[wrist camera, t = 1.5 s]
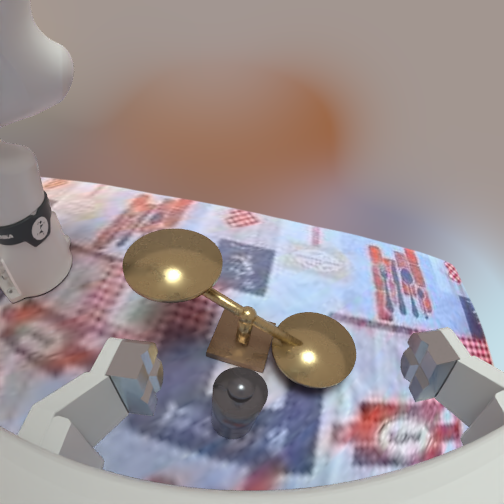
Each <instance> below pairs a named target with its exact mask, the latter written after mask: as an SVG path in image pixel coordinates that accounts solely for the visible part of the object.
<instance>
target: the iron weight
mask: <svg viewBox="0 0 504 504" xmlns="http://www.w3.org/2000/svg"><path fill="white" fill-rule="evenodd" d="M267 396H268V389H267V385H266V383H265V381H264V380H263V378H262V377H261V376H260V375H259V374H258V373H256V372H255V371H253V370H251V369H248V368H242V367H236V368H230V369H228V370H226V371H224V372H222V373H221V374H220V375H219V376H218V377H217V378H216V380H215V382H214V385H213V397H212V426H213V428H214V430H215V431H216V432H217V433H218V434H219V435H221V436H222V437H225V438H228V439H237V438H240V437H243V436H244V435H246V434H247V433H248V432H249V430H250V428H251V427H252V425H253V423H254V422H255V420H256V418H257V416H258V415H259V413H260V411H261V409H262V408H263V406H264V404H265V402H266V400H267Z"/></svg>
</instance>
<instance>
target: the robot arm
mask: <svg viewBox="0 0 504 504" xmlns="http://www.w3.org/2000/svg"><path fill="white" fill-rule="evenodd" d="M73 75H74V65H73V61H72V57H71V55H70V54H69V52H68V51H67V49H66V48H65V47H64V46H62V45H61V44H58V43H56V42H54V41H52V40H51V39H49V38H48V37H46V36H45V35H44V34H43V33H42V32H41V31H40V30H39V28H38V27H37V25H36V24H35V22H34V20H33V16H32V12H31V5H30V0H0V128H1V127H3V126H6V125H8V124H11V123H13V122H16V121H19V120H22V119H24V118H27V117H30V116H33V115H36V114H38V113H40V112H42V111H44V110H46V109H48V108H50V107H52V106H53V105H55V104H57V103H60V102H61V101H62V100H63V99H64V97H65V96H66V94H67V93H68V91H69V89H70V86H71V84H72V80H73ZM69 247H70V238H69V236H67V235H64V233H63V231H62V228H61V226H60V223H59V221H58V218H57V216H56V213H55V212H53V211H51V207H50V202H49V199H48V197H47V194H46V192H45V191H44V190H43V186H42V182H41V178H40V173H39V168H38V164H37V159H36V156H35V154H34V153H33V152H32V150H30V149H29V148H27V147H26V146H23V145H20V144H13V143H7V142H4V141H3V140H1V139H0V288H1V290H2V291H3V292H4V294H5V295H6V296H7V298H8V299H9V300H10V301H11V302H12V303H14V302H17V301H19V300H21V299H23V298H26V297H31V296H37V295H41V294H44V293H46V292H48V291H50V290H51V289H53V288H54V287H56V286H57V285H58V284H59V283H60V282H61V281H62V280H63V279H64V278H65V277H66V275H67V274H68V272H69V270H70V268H71V264H72V255H71V252H70V249H69ZM408 345H409V348H408V349H407V350H406V351H405V352H404V353H403V355H402V358H401V371H402V374H403V376H404V378H405V379H406V380H408V381H409V382H410V385H409V389H410V392H411V394H412V396H413V398H414V400H415V402H418V401H423V400H427V399H431V398H435V397H436V398H435V399H436V400H437V401H438V402H440V403H441V404H442V405H443V406H444V407H446V408H447V409H448V410H449V411H450V412H452V413H453V414H454V415H455V416H456V417H458V418H459V419H460V420H461V421H462V422H464V423H465V424H466V425H467V426H468V427H469V428H468V429H467V430H466V431H465V432H464V433H463V434H462V436H461V438H460V439H461V441H462V443H463V446H462V447H459V448H457V449H455V450H452V451H450V452H448V453H445V454H443V455H440V456H438V457H435V458H432V459H430V460H427V461H424V462H421V463H418V464H415V465H412V466H409V467H406V468H403V469H399V470H396V471H392V472H389V473H385V474H381V475H377V476H373V477H368V478H364V479H359V480H354V481H349V482H344V483H338V484H332V485H325V486H317V487H309V488H299V489H286V490H265V491H236V490H215V489H202V488H192V487H184V486H176V485H169V484H163V483H157V482H152V481H147V480H142V479H137V478H133V477H128V476H124V475H120V474H116V473H113V472H109V471H105V470H102V468H103V465H104V460H103V458H102V457H101V456H100V455H99V454H98V452H97V451H96V450H95V449H94V448H93V447H95V446H96V445H97V444H98V443H99V442H100V441H101V440H102V439H103V438H104V437H105V436H106V435H107V434H108V433H109V432H111V431H112V430H113V429H114V428H115V427H116V426H117V425H118V424H119V423H120V422H121V421H122V420H123V419H124V418H125V417H126V416H127V415H128V413H134V414H141V415H149V416H154V412H155V408H156V405H157V401H158V399H157V396H156V394H155V393H156V392H158V391H159V390H160V389H161V387H162V383H163V367H162V363H161V361H160V360H159V359H158V358H157V357H156V356H157V353H158V350H157V347H156V344H155V343H153V342H147V341H138V340H129V339H119V338H112V337H111V338H109V339H108V340H107V341H106V343H105V345H104V347H103V348H102V350H101V352H100V354H99V356H98V358H97V360H96V361H95V363H94V365H93V367H92V369H91V371H90V372H85V373H83V374H82V375H80V376H79V377H77V378H75V379H74V380H72V381H71V382H69V383H68V384H66V385H64V386H63V387H61V388H60V389H58V390H56V391H55V392H53V393H52V394H50V395H48V396H47V397H45V398H44V399H42V400H41V401H39V402H37V403H36V404H34V405H33V406H32V408H31V410H30V412H29V414H28V416H27V417H26V419H25V421H24V423H23V425H22V427H21V429H20V431H19V433H18V435H15V434H13V433H11V432H9V431H7V430H6V429H4V428H2V427H0V504H504V372H503V371H501V370H499V369H497V368H495V367H494V366H492V365H490V364H488V363H486V362H485V361H483V360H481V359H479V358H477V357H476V356H471V355H470V354H469V352H468V351H467V350H466V348H465V347H464V346H463V344H462V343H461V341H460V340H459V339H458V337H457V336H456V335H455V333H454V332H453V331H452V329H450V328H448V327H446V328H441V329H436V330H431V331H425V332H419V333H413V334H412V335H411V336H410V338H409V340H408Z"/></svg>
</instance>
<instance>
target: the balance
mask: <svg viewBox="0 0 504 504" xmlns="http://www.w3.org/2000/svg"><path fill="white" fill-rule="evenodd" d="M221 271H222V255H221V253H220V250H219V249H218V247H217V246H216V245H215V243H213V242H212V241H211V240H210V239H209V238H207V237H205V236H204V235H202V234H199V233H197V232H194V231H190V230H185V229H164V230H159V231H155V232H152V233H149V234H147V235H145V236H143V237H141V238H140V239H138V240H137V241H135V242H134V243H133V244H132V245H131V246H130V247H129V249H128V250H127V252H126V254H125V256H124V259H123V272H124V277H125V279H126V281H127V283H128V285H129V286H130V287H131V288H132V289H133V290H134V291H135V292H136V293H138V294H139V295H141V296H142V297H145V298H147V299H150V300H153V301H157V302H164V303H177V302H183V301H187V300H191V299H194V298H196V297H199V296H200V295H203V296H205V297H206V298H208V299H210V300H211V301H213V302H215V303H216V304H218V305H219V306H221V307H223V308H224V311H223V313H222V316H221V318H220V320H219V323H218V325H217V328H216V330H215V333H214V335H213V337H212V340H211V342H210V345H209V347H208V349H207V352H206V356H208V357H211V358H214V359H217V360H220V361H223V362H226V363H230V364H233V365H236V366H240V367H243V368H248V369H251V370H254V371H258V372H261V373H263V370H264V367H265V363H266V359H267V356H268V352H269V348H270V344H271V340H272V354H273V357H274V360H275V362H276V364H277V366H278V367H279V369H280V370H281V371H282V372H283V373H284V374H285V375H286V376H287V377H288V378H289V379H291V380H292V381H294V382H295V383H297V384H300V385H302V386H305V387H309V388H327V387H331V386H334V385H336V384H338V383H340V382H341V381H343V380H344V379H345V378H346V377H347V376H348V375H349V374H350V372H351V371H352V369H353V367H354V364H355V361H356V348H355V344H354V341H353V339H352V337H351V335H350V334H349V332H348V331H347V330H346V329H345V328H344V327H343V326H342V325H341V324H340V323H339V322H337V321H336V320H334V319H332V318H330V317H328V316H326V315H323V314H319V313H313V312H304V313H298V314H295V315H292V316H290V317H288V318H286V319H285V320H284V321H282V322H281V323H280V325H279V326H278V327H276V326H275V325H276V323H272V322H269V321H266V320H264V319H263V318H261V317H259V316H258V315H257V313H256V311H255V310H254V309H253V308H252V307H249V306H245V307H243V306H241V305H239V304H238V303H236V302H234V301H233V300H231V299H230V298H228V297H226V296H225V295H223V294H221V293H220V292H218V291H217V290H215V289H213V288H212V287H213V286H214V285H215V283H216V282H217V281H218V279H219V277H220V274H221ZM272 336H273V339H272Z"/></svg>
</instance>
